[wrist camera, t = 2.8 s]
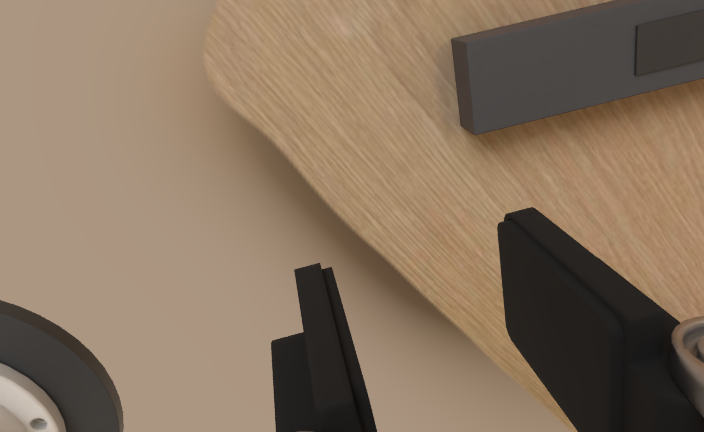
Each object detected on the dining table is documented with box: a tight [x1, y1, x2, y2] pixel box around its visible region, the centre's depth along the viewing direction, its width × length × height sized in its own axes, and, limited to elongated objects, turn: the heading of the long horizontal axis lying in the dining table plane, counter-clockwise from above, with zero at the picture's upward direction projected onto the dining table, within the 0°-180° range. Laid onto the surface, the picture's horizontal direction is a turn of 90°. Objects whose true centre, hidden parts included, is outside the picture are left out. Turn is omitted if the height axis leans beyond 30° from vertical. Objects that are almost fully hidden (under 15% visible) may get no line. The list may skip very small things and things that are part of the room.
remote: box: [451, 0, 704, 135], centre depth 27 cm, size 16×4×2 cm, turn 101°
